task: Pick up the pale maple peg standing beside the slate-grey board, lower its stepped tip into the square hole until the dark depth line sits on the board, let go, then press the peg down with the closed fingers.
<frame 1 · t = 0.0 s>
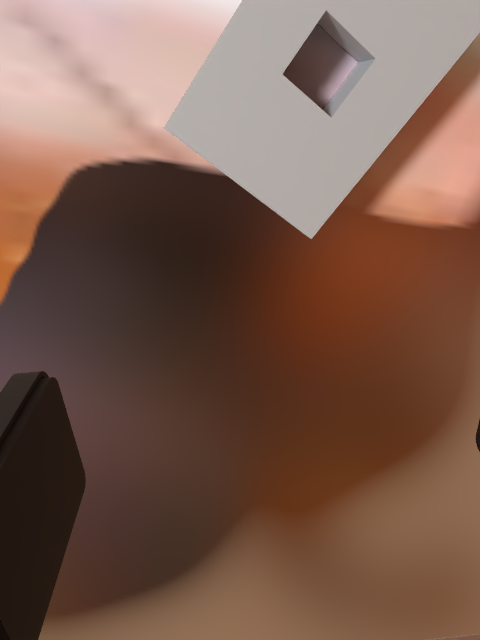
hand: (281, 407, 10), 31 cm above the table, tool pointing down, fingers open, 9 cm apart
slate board: (316, 69, 34), on the table
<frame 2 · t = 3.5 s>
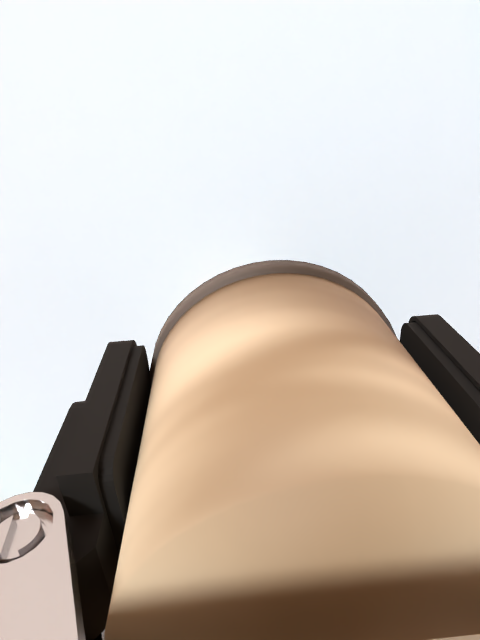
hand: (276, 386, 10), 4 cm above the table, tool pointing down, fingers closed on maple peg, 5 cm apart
maple peg: (260, 317, 14), on the table, touching gripper
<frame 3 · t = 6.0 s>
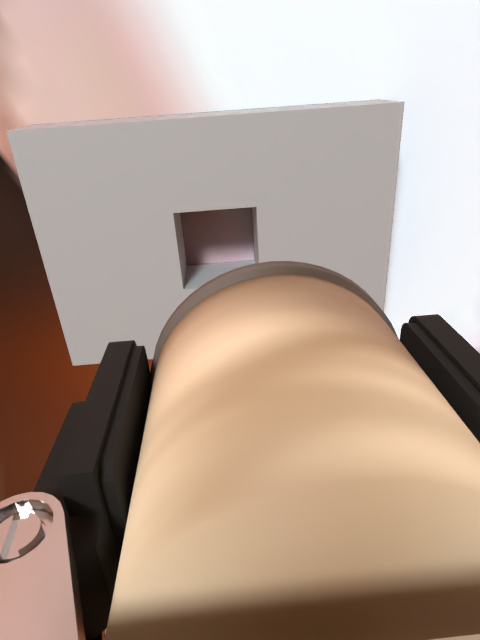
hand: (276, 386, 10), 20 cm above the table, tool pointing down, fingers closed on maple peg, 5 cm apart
maple peg: (260, 318, 13), point 17 cm above the table, touching gripper
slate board: (217, 229, 29), on the table
when the fingers open (6 cm above the table, at t = 8.7 s): maple peg drops 1 cm, resting on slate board.
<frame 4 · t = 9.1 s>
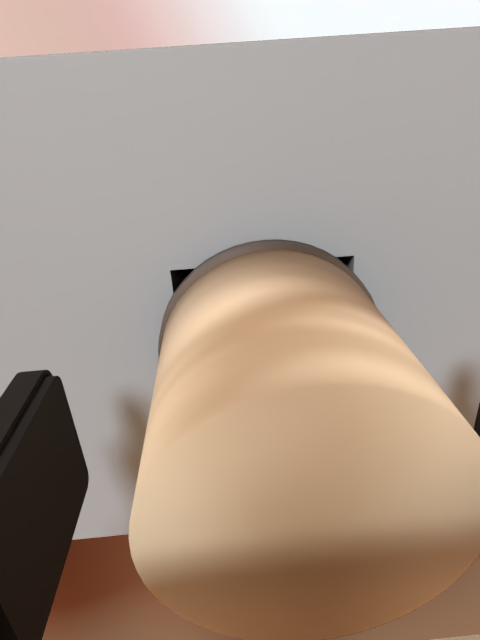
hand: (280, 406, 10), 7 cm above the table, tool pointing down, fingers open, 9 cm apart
maple peg: (257, 297, 15), point 1 cm above the table, touching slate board
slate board: (252, 286, 16), on the table
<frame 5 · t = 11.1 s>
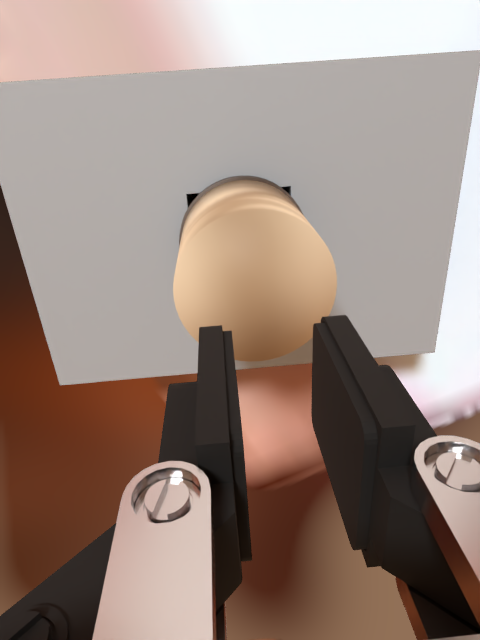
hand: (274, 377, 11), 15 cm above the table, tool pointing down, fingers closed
maple peg: (239, 223, 23), point 1 cm above the table, touching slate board
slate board: (236, 219, 24), on the table
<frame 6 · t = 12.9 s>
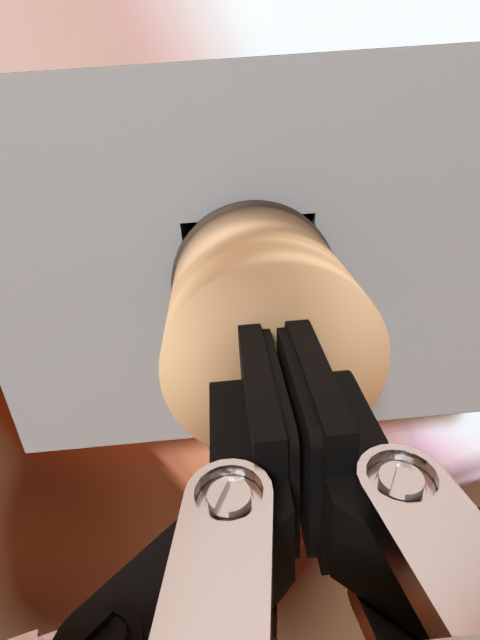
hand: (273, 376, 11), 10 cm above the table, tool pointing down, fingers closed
maple peg: (246, 254, 19), point 1 cm above the table, touching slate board
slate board: (243, 247, 20), on the table
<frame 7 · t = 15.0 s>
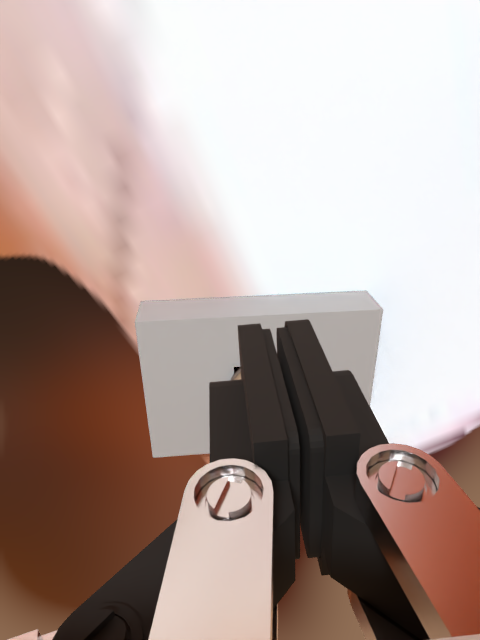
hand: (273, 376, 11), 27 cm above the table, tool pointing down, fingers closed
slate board: (255, 363, 42), on the table
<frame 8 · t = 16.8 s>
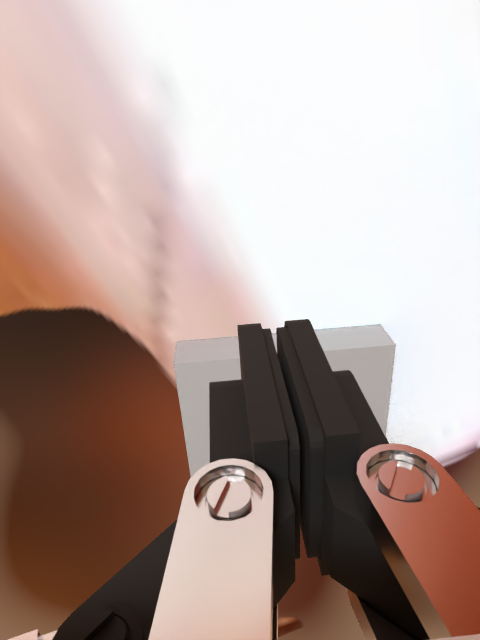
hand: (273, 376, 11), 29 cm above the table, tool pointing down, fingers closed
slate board: (280, 391, 47), on the table
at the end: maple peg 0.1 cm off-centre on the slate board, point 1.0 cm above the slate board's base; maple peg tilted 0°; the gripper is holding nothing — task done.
